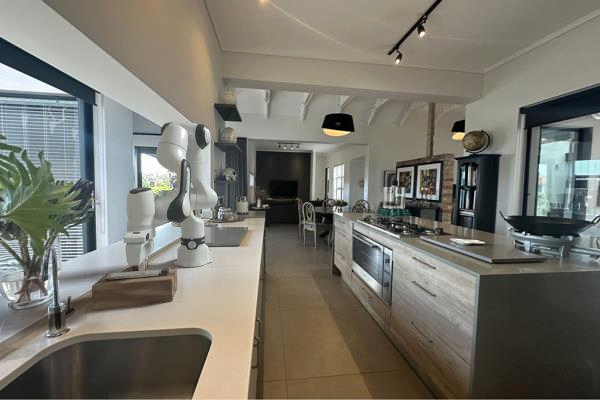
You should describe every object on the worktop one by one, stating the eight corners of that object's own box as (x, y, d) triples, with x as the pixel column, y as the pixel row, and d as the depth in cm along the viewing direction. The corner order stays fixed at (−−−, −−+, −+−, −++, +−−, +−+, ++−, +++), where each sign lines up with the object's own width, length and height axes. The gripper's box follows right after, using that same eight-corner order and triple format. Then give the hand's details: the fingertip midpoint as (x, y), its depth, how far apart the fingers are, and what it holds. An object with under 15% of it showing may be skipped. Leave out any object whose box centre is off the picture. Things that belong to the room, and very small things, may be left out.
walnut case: (107, 294, 99) (106, 268, 99) (177, 288, 106) (176, 263, 105) (92, 309, 88) (91, 280, 87) (172, 301, 95) (171, 273, 94)
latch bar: (109, 276, 96) (109, 272, 96) (161, 272, 100) (160, 268, 100) (104, 280, 91) (104, 276, 91) (158, 276, 96) (158, 272, 96)
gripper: (140, 227, 105) (141, 261, 106) (121, 239, 85) (122, 281, 86) (158, 227, 107) (158, 260, 108) (143, 238, 87) (144, 279, 88)
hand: (142, 270), depth 97 cm, fingers closed
